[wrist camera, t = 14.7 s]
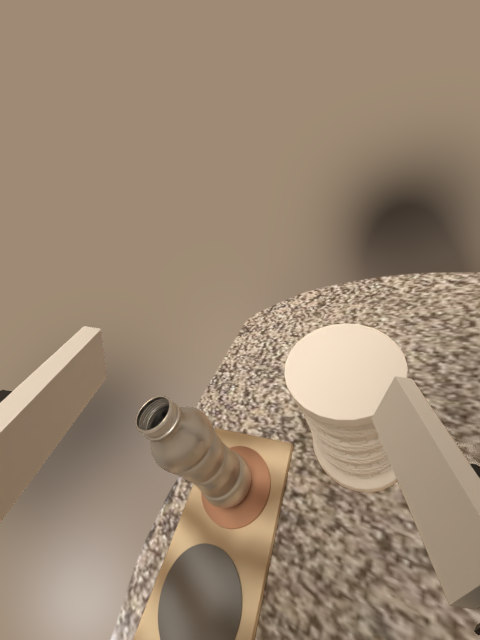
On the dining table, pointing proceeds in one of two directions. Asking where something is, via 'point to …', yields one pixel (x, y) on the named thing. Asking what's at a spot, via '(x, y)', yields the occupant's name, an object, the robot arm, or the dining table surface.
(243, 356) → the dining table surface
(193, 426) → the plastic bottle
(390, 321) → the dining table surface
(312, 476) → the dining table surface
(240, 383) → the dining table surface
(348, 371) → the decorative container
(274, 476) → the board
